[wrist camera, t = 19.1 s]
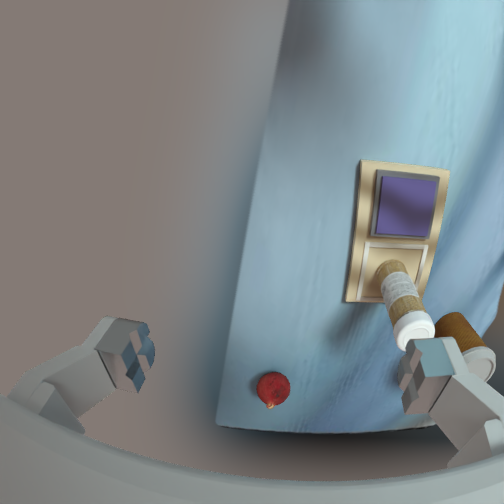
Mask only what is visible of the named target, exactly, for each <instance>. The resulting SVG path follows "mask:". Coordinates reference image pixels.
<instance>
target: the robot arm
mask: <svg viewBox="0 0 504 504" xmlns="http://www.w3.org/2000/svg"><path fill="white" fill-rule="evenodd" d="M149 332H150V331H149V328H148V326H147V324H146V323H144V322H139V321H133V320H128V319H122V318H116V317H111V316H105V317H103V318H102V319H101V320H100V322H99V323H98V324H97V326H96V327H95V328H94V330H93V331H92V332H91V334H90V335H89V336H88V338H87V339H86V340H85V342H84V343H83V344H82V345H81V346H75V347H73V348H72V349H70V350H68V351H66V352H64V353H62V354H60V355H58V356H56V357H54V358H52V359H50V360H48V361H46V362H44V363H42V364H40V365H38V366H36V367H35V368H32V369H30V370H28V371H26V372H25V373H24V374H23V376H22V377H21V378H20V379H19V381H18V382H17V383H16V385H15V386H14V388H13V389H12V390H11V392H10V393H9V394H8V396H7V397H5V396H4V395H2V394H0V504H504V397H503V396H502V395H500V394H499V393H498V392H497V391H495V390H494V389H493V388H491V386H489V385H488V384H487V383H486V382H484V381H483V380H482V379H481V378H479V377H478V376H477V375H475V374H474V373H470V372H469V370H468V368H467V365H466V363H465V361H464V358H463V356H462V354H461V352H460V349H459V347H458V345H457V343H456V341H455V339H454V338H453V337H439V338H421V339H410V340H409V341H408V342H407V345H406V347H405V349H406V353H407V354H406V355H405V356H403V357H402V358H401V360H400V363H399V366H398V373H397V376H398V384H399V387H400V388H401V389H402V390H403V391H404V393H403V395H402V397H401V399H402V403H403V408H404V413H405V415H406V414H421V413H429V415H430V417H431V418H432V419H433V420H434V421H435V423H436V424H437V425H438V426H439V427H440V428H441V430H442V431H443V432H444V433H445V435H446V436H447V437H448V438H449V439H450V441H451V442H452V443H453V444H454V446H455V447H456V448H457V449H458V450H459V452H458V453H457V454H456V455H455V456H454V457H453V458H452V459H451V460H450V461H449V462H448V464H447V466H448V469H443V470H438V471H433V472H427V473H421V474H415V475H409V476H401V477H393V478H385V479H373V480H358V481H328V482H327V481H325V482H324V481H288V480H273V479H262V478H252V477H243V476H236V475H229V474H223V473H217V472H211V471H205V470H200V469H195V468H190V467H186V466H181V465H177V464H173V463H169V462H165V461H161V460H157V459H153V458H150V457H146V456H143V455H139V454H136V453H133V452H130V451H126V450H123V449H120V448H117V447H114V446H111V445H109V444H106V443H103V442H100V441H97V440H95V439H92V438H90V437H87V436H85V435H84V433H85V429H84V427H83V426H82V424H81V423H80V422H79V420H78V419H77V418H79V417H80V416H81V415H83V414H84V413H85V412H87V411H88V410H89V409H91V408H92V407H94V406H95V405H96V404H98V403H99V402H100V401H102V400H103V399H104V398H106V397H107V396H108V395H110V394H111V393H112V392H114V391H115V390H116V389H120V390H125V391H129V392H134V393H138V392H139V390H140V388H141V386H142V384H143V382H144V380H145V376H144V372H146V371H147V370H149V369H150V368H151V366H152V364H153V362H154V356H155V349H154V344H153V342H152V341H151V340H150V339H149V338H148V337H147V336H148V334H149ZM115 388H116V389H115Z"/></svg>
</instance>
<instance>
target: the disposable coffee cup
mask: <svg viewBox="0 0 504 504" xmlns="http://www.w3.org/2000/svg"><path fill="white" fill-rule="evenodd" d="M434 337H435V338H439V337H453V338H454V339H455V341H456V343H457V345H458V347H459V349H460V352H461V354H462V356H463V358H464V361H465V363H466V365H467V368H468V370H469V372H470V373H474V374H475V375H477V376H478V377H479V378H481V379H482V380H483V381H484V382H487V381H488V380H489V379H490V377H491V376H492V374H493V373H494V371H495V367H496V363H495V358H496V357H495V354H494V352H493V351H492V350H491V349H489V348H488V347H486V345H485V343H484V342H483V341H482V339H481V338H480V337H479V335H478V334H477V333H476V331H475V330H474V329H473V327H472V326H471V325H470V324H469V322H468V321H467V320H466V319H465V317H464V316H463V315H462V314H461V313H458V312H453V313H449V314H447V315H445V316H443V317H442V318H441V319H440V320H439V321H438V322H437V323H436V325H435V335H434Z"/></svg>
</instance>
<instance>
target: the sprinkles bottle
mask: <svg viewBox="0 0 504 504" xmlns="http://www.w3.org/2000/svg"><path fill="white" fill-rule="evenodd" d="M376 274H377V275H376V278H377V281H378V283H379V285H380V288H381V292H382V295H383V299H384V302H385V305H386V308H387V311H388V314H389V317H390V319H391V322H392V325H393V334H394V338H395V341H396V344H397V346H398V347H399V348H400V349H401V350H403V351H406V349H405V347H406V345H407V342H408V341H409V340H410V339H421V338H433V337H434V335H435V327H434V324H433V322H432V320H431V317H430V316H429V315H428V314H427V312H426V310H425V308H424V306H423V303H422V301H421V299H420V297H419V294H418V292H417V289H416V287H415V285H414V283H413V281H412V279H411V277H410V276H409V274H408V272H407V270H406V267H405V265H404V264H403V263H402V262H401V261H399V260H394V259H392V260H388V261H385V262H384V263H382V264H381V265H380V267H379V268H378V270H377V273H376Z"/></svg>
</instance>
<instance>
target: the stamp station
mask: <svg viewBox="0 0 504 504" xmlns="http://www.w3.org/2000/svg"><path fill="white" fill-rule="evenodd" d="M449 176H450V171H449V170H447V169H442V168H435V167H428V166H420V165H412V164H403V163H394V162H383V161H372V160H360V175H359V188H358V200H357V210H356V220H355V229H354V238H353V246H352V254H351V262H350V269H349V276H348V282H347V289H346V295H345V298H346V302H384V299H383V295H382V292H381V288H380V285H379V283H378V281H377V278H376V275H377V274H376V273H377V270H378V268H379V267H380V265H381V264H382V263H384V262H385V261H388V260H392V259H394V260H399V261H401V262H402V263H403V264H404V265H405V267H406V270H407V272H408V274H409V276H410V277H411V279H412V281H413V283H414V285H415V287H416V289H417V292H418V294H419V297H420V299H421V301H422V298H423V295H424V291H425V288H426V284H427V281H428V277H429V274H430V270H431V266H432V262H433V258H434V254H435V250H436V246H437V242H438V237H439V232H440V228H441V223H442V218H443V213H444V207H445V201H446V196H447V189H448V183H449Z"/></svg>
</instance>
